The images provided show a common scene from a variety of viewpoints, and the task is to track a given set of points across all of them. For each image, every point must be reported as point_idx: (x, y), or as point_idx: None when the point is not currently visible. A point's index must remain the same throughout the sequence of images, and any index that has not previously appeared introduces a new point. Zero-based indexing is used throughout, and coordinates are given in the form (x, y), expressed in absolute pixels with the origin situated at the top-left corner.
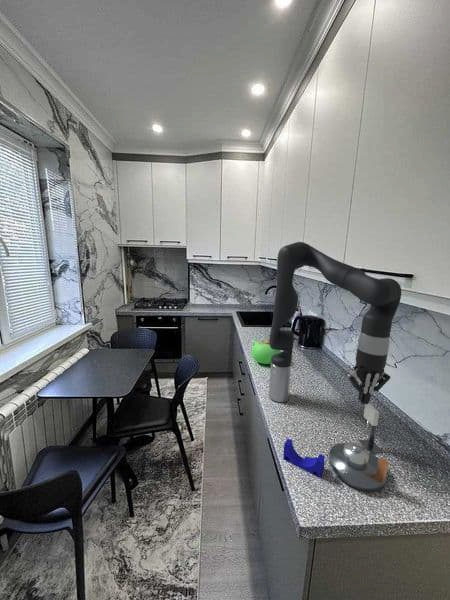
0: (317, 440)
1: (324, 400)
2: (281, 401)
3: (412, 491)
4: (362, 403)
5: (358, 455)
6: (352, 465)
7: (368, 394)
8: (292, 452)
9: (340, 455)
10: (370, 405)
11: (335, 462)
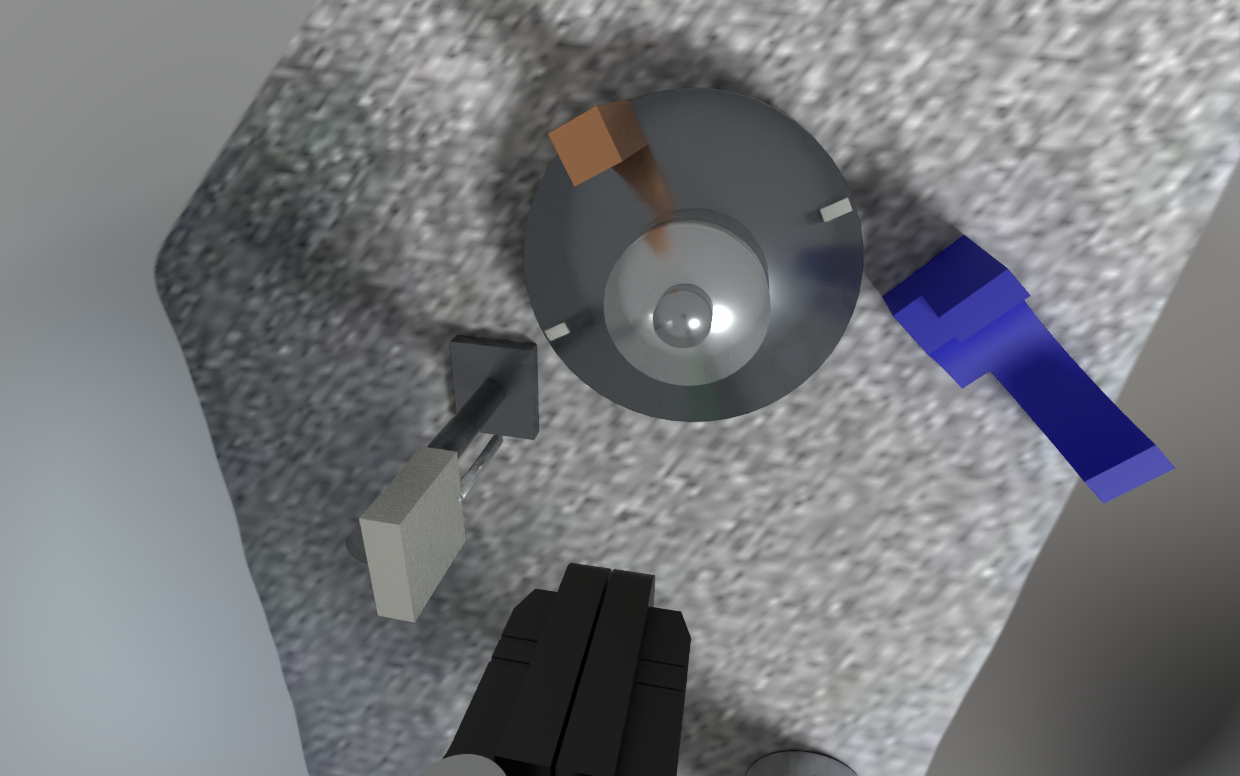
0: (776, 484)
1: None
2: (813, 756)
3: (447, 87)
4: (652, 592)
5: (703, 265)
6: (751, 239)
7: (533, 742)
8: (1079, 414)
9: None
10: (384, 597)
11: (835, 291)
